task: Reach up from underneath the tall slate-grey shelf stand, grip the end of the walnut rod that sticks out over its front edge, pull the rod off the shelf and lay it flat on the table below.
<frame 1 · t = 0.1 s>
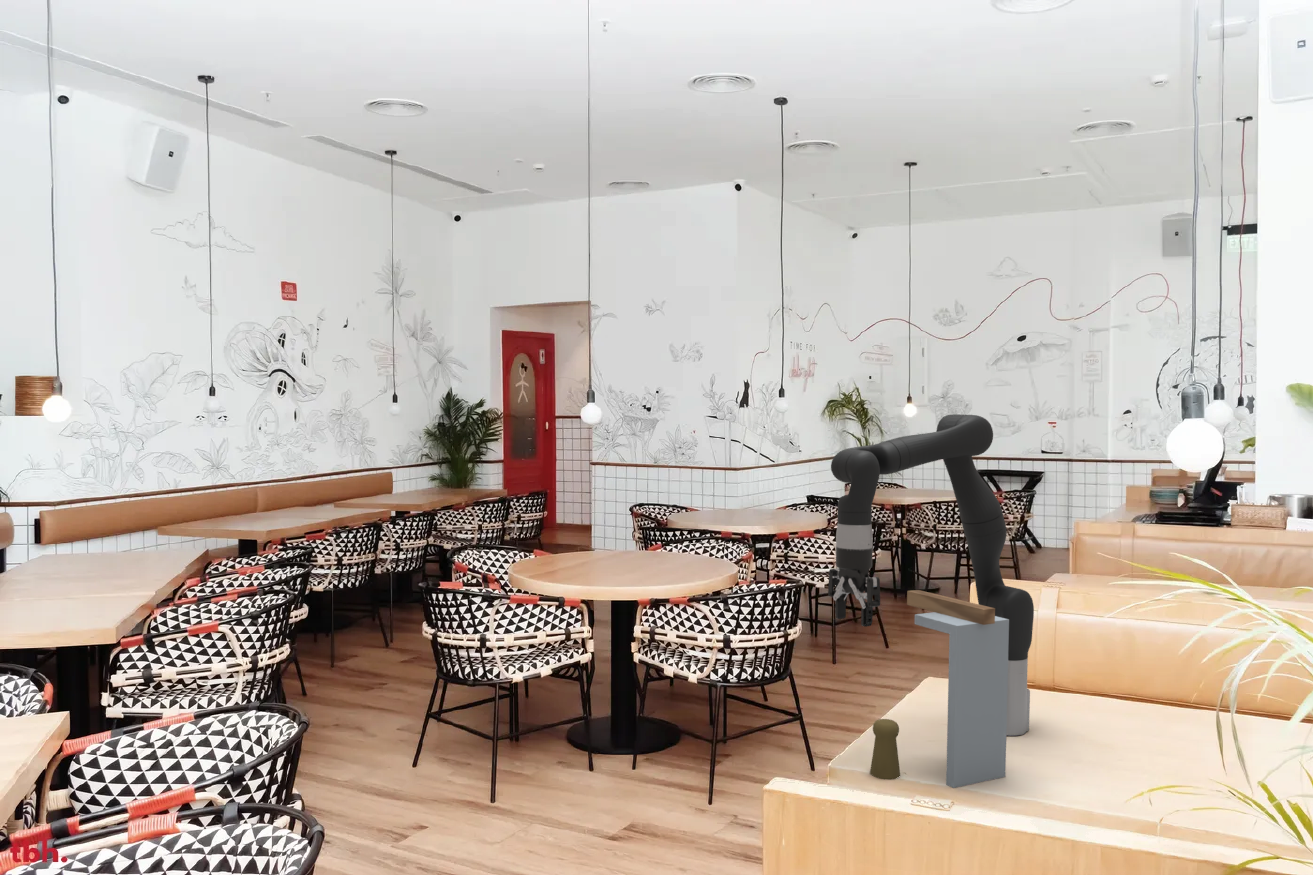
hand: (853, 622, 220), 29 cm above the table, tool pointing down, fingers open, 8 cm apart
olive pawn: (885, 775, 213), on the table
walnut rod: (949, 613, 216), point 32 cm above the table, touching shelf stand
shelf stand: (958, 772, 214), on the table
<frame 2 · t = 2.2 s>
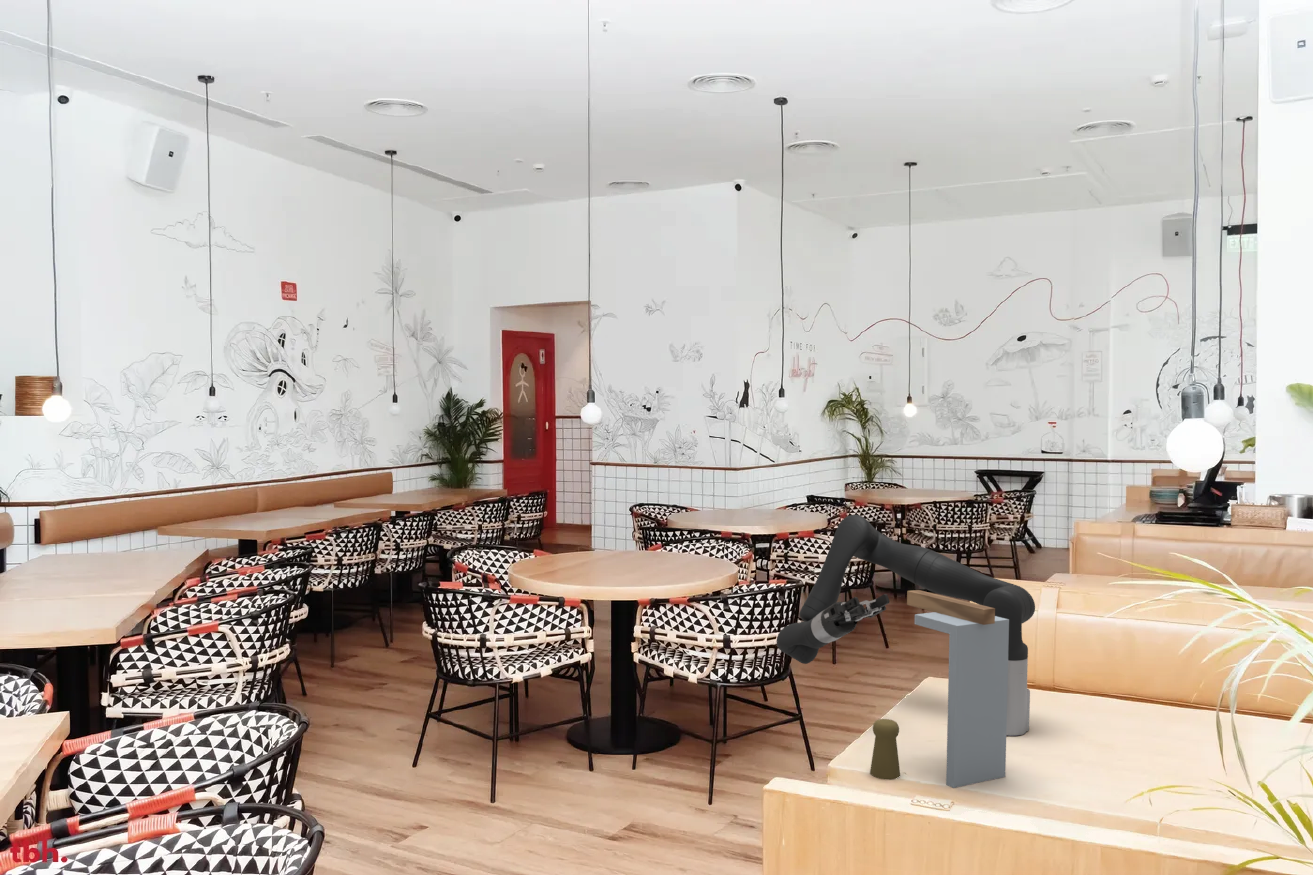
hand: (872, 599, 237), 31 cm above the table, tool pointing upward, fingers open, 8 cm apart
nothing on the table moved.
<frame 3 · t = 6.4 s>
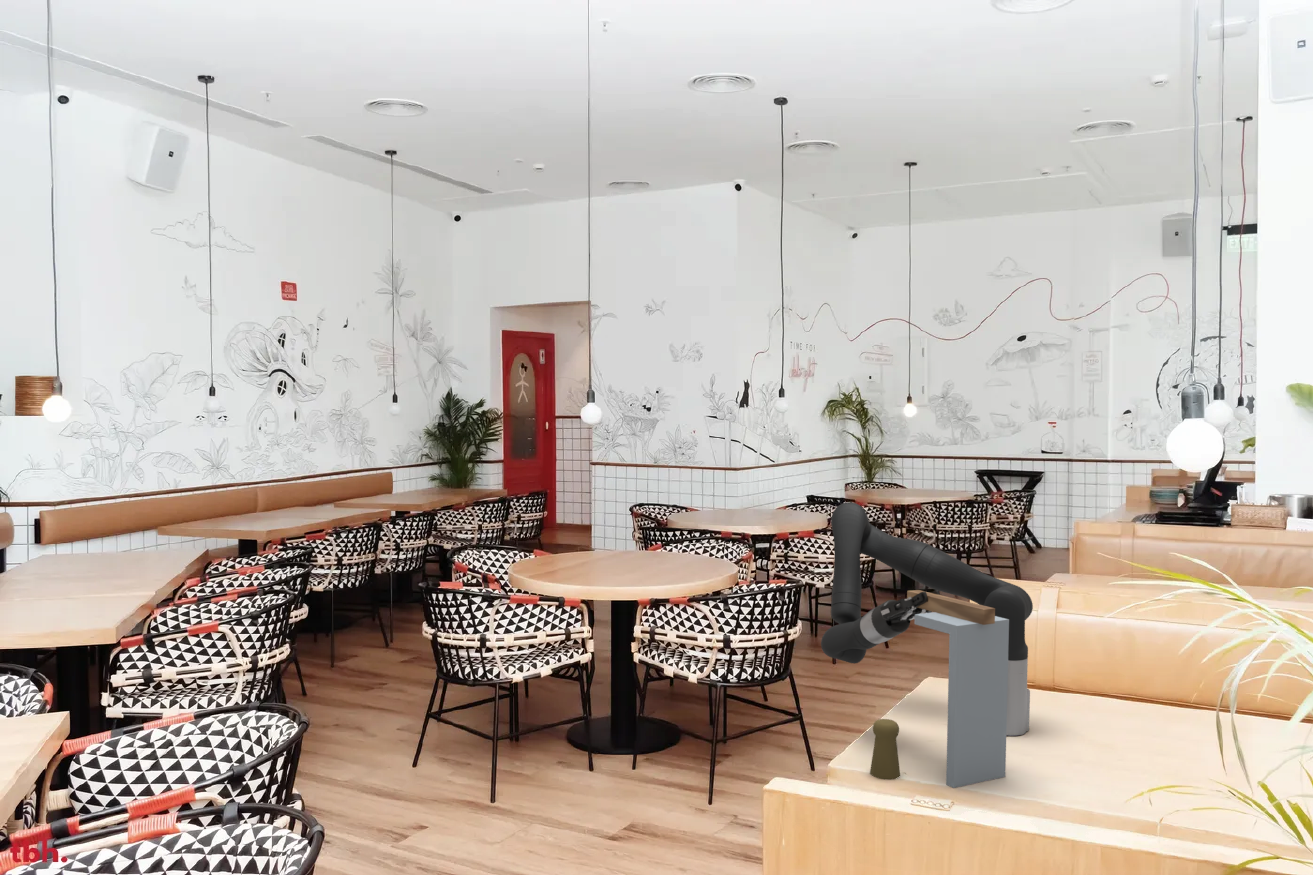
hand: (932, 595, 220), 35 cm above the table, tool pointing upward, fingers closed on walnut rod, 3 cm apart
walnut rod: (949, 613, 216), point 32 cm above the table, touching gripper, shelf stand
everything else where it was.
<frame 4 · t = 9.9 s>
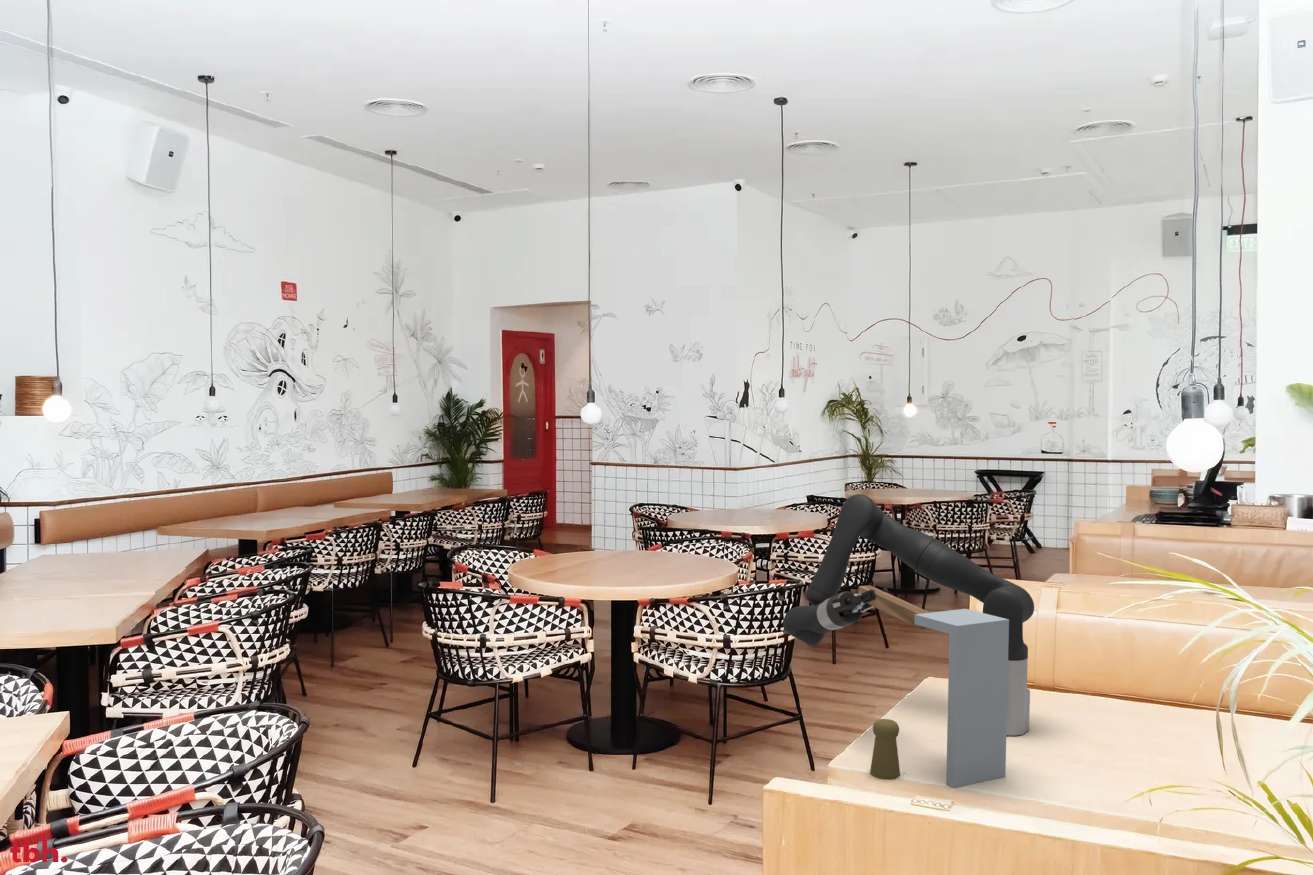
hand: (880, 593, 232), 33 cm above the table, tool pointing upward, fingers closed on walnut rod, 3 cm apart
walnut rod: (893, 612, 228), point 30 cm above the table, tilted 6°, touching gripper
everything else where it was.
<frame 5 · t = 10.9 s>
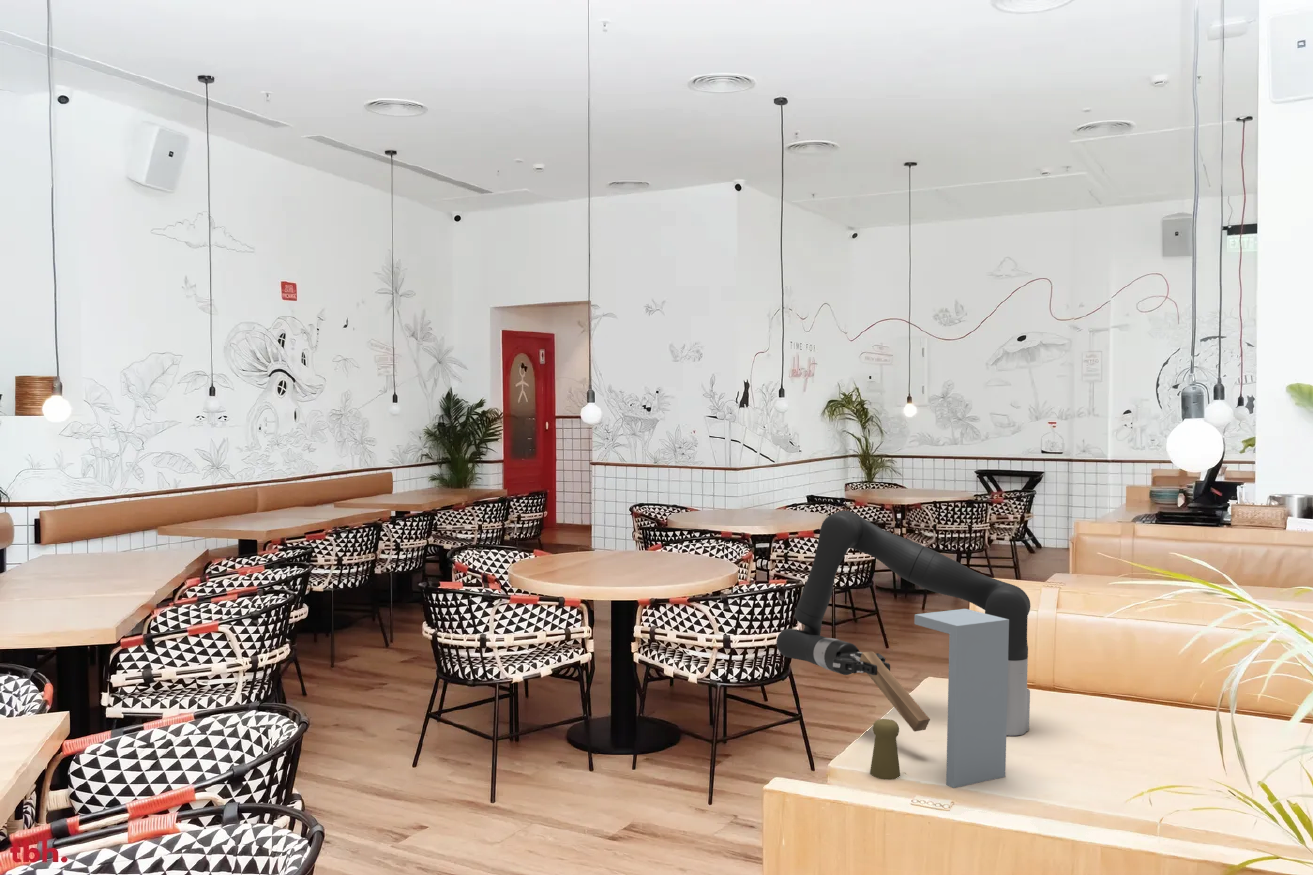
hand: (882, 669, 233), 16 cm above the table, tool horizontal, fingers closed on walnut rod, 3 cm apart
walnut rod: (890, 695, 231), point 11 cm above the table, tilted 27°, touching gripper
everything else where it was.
when the fingers open (6 cm above the table, at t = 13.8 s): walnut rod drops 3 cm, on the table.
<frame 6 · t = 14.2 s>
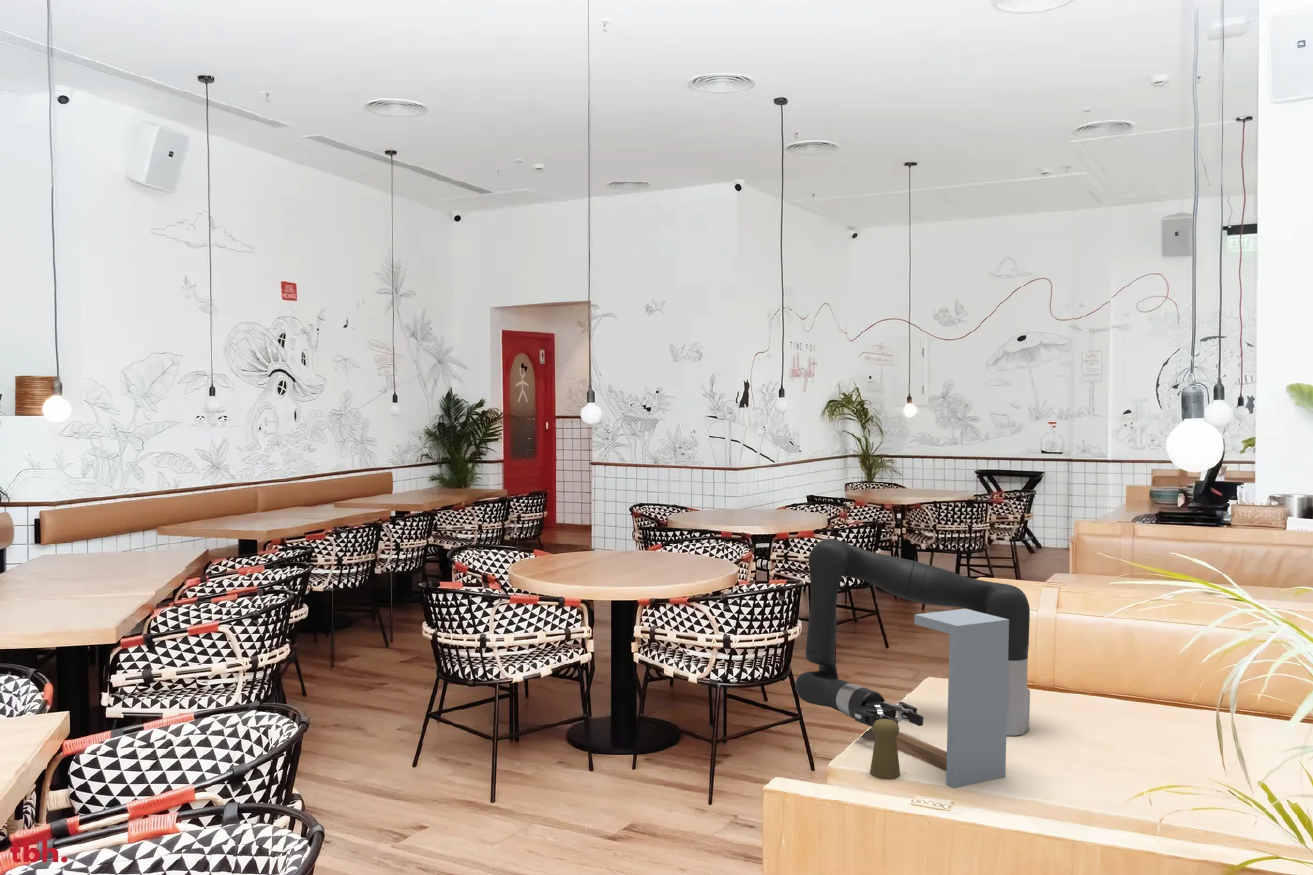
hand: (909, 723, 227), 6 cm above the table, tool horizontal, fingers open, 6 cm apart
walnut rod: (920, 757, 224), on the table
everything else where it was.
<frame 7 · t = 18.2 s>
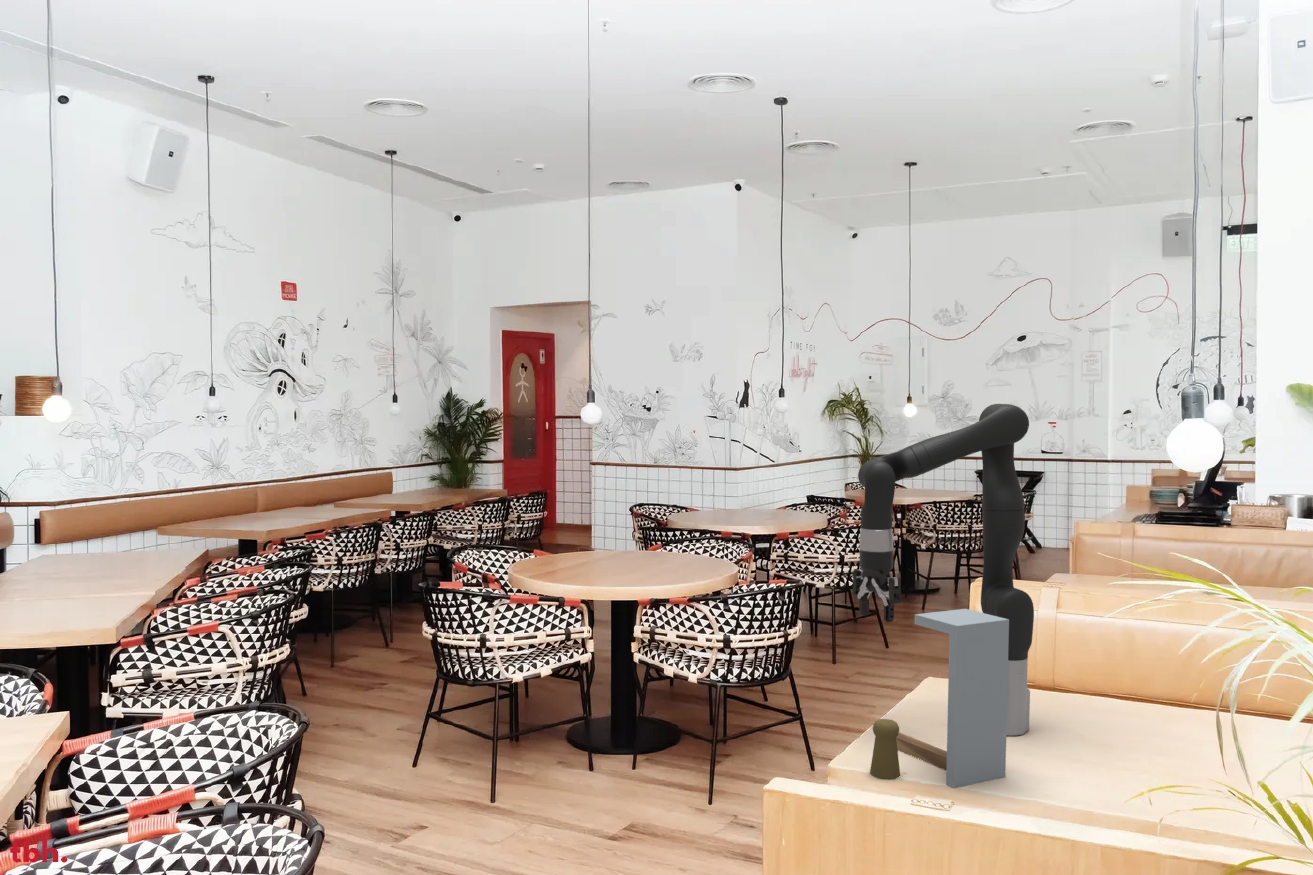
hand: (876, 618, 240), 26 cm above the table, tool pointing down, fingers open, 8 cm apart
nothing on the table moved.
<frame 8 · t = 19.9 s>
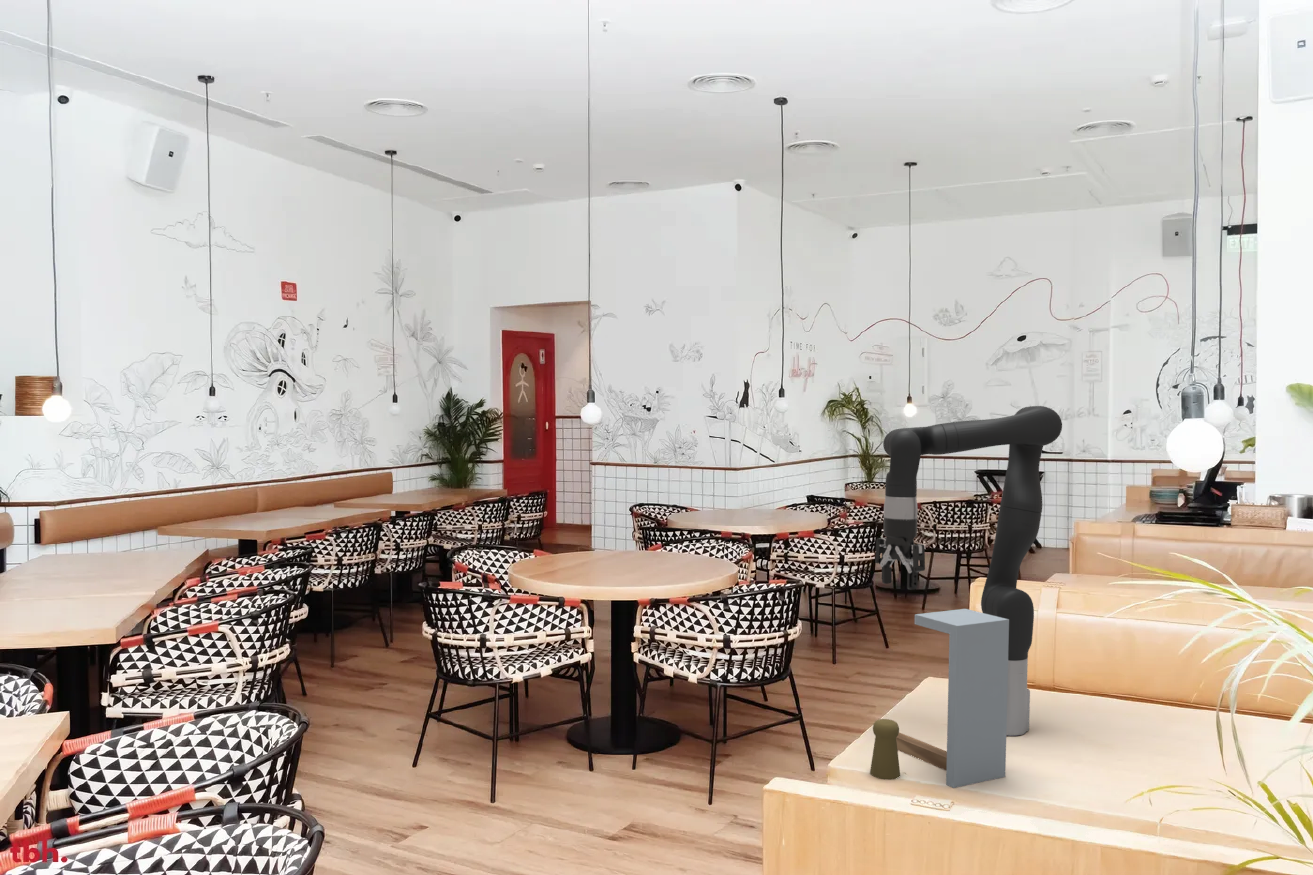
hand: (899, 586, 241), 33 cm above the table, tool pointing down, fingers open, 8 cm apart
nothing on the table moved.
at the end: walnut rod inside the target area (0.3 cm from its centre), on the table; walnut rod tilted 1°; the gripper is holding nothing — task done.
